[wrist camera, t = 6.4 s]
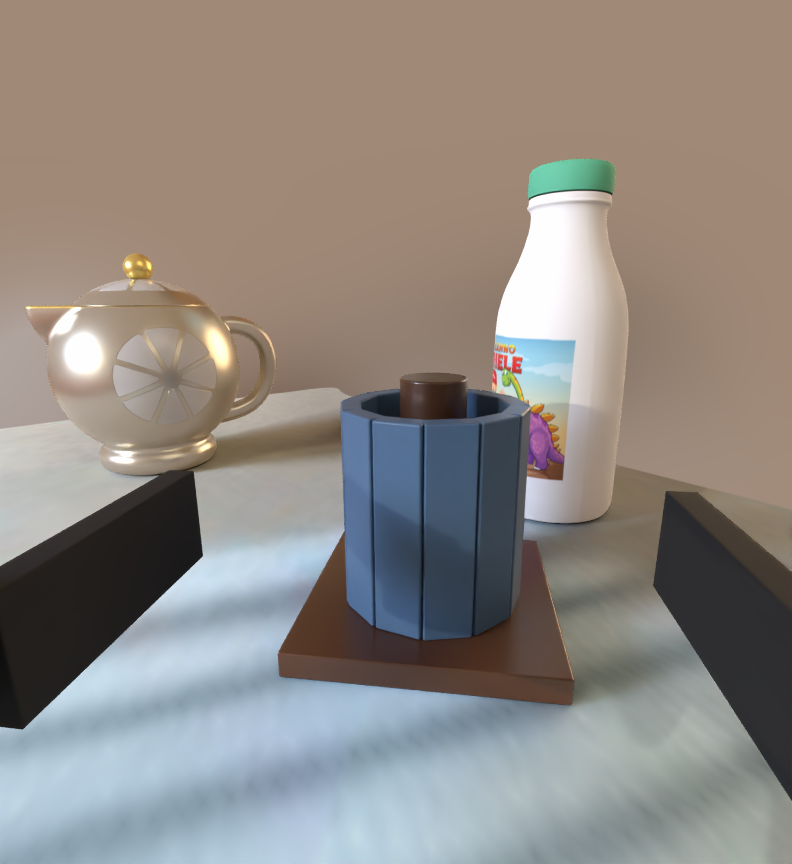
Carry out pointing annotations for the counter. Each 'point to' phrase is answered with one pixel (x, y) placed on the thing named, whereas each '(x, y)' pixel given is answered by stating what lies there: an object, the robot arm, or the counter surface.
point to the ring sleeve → (434, 513)
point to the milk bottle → (566, 342)
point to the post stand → (416, 658)
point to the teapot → (149, 370)
